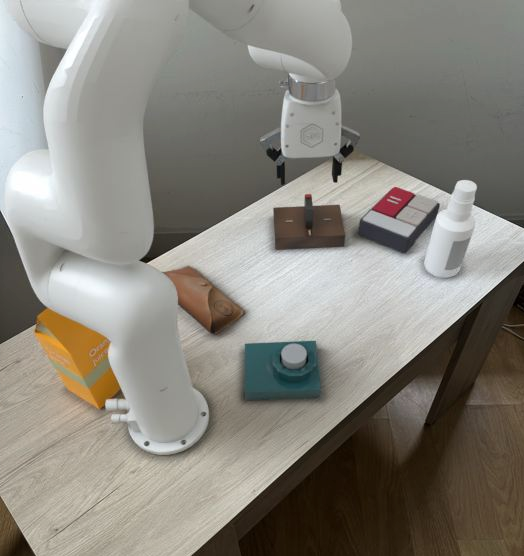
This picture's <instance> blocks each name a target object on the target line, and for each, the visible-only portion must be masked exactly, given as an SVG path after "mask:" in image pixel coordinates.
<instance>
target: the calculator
mask: <svg viewBox="0 0 524 556" xmlns="http://www.w3.org/2000/svg"><path fill="white" fill-rule="evenodd" d="M440 206H441V203H439V202H438V201H437V200H435V199H432V198H429V197H426V196H423V195H420V194H415V193H414V192H412V191H409V190H406V189H403V188H400V187H398V186H393V187H392V188H390V190H389V191H388V192H387V193H385V194H384V196H383V197H382V198H381V199H379V200H378V201H377V202H376V203H375V204H374V205H373V206H372V207H371V208H370V209H369V210H368V211H367V212H366V213H365V214H364V215H363V216H362V217H361V218H360V219H359V223H358V229H357V235H358V236H360V237H362V238H364V239H367V240H369V241H372V242H374V243H376V244H379V245H383V246H385V247H387V248H389V249H392V250H395V251H396V252H399V253H402V254H407V253H408V251H410V249H412V248H413V246H414V245H415V243H416V241H417V240H418V238H419V237H420V236H421V235H422V234H423V233H424V231H425V230H426V229H427V228H428V227H429V226H430V225H431V223H433V221H434V220H436V216H437V214H438V213H439V210H440Z"/></svg>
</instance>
